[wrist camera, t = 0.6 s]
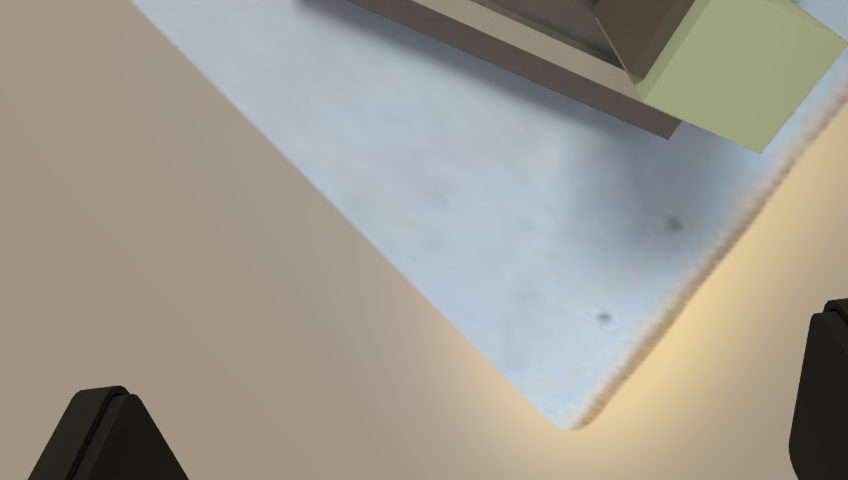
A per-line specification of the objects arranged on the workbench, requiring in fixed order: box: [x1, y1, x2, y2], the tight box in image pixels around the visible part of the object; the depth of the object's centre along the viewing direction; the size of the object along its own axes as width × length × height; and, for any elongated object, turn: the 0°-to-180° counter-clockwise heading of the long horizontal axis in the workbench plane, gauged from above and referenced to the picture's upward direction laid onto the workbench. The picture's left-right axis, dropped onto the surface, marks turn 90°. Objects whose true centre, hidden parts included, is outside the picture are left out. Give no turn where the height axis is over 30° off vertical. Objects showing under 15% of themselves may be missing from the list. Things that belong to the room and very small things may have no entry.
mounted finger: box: [593, 0, 848, 154], centre depth 28 cm, size 4×6×9 cm
